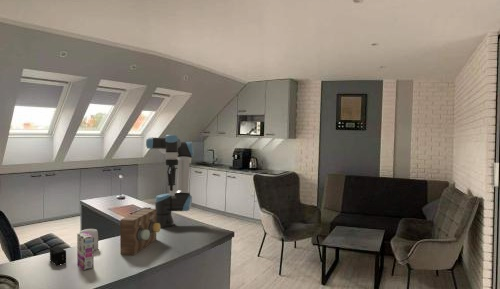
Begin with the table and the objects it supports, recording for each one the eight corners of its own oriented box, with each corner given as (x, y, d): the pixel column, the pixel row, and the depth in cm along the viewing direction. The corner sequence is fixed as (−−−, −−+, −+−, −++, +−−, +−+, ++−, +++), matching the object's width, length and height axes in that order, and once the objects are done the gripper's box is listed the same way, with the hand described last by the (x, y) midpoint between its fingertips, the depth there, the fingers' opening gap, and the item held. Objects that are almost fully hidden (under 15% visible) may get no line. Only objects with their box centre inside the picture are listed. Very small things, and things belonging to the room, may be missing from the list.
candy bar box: (94, 267, 162) (94, 236, 162) (83, 270, 159) (83, 238, 158) (87, 261, 170) (86, 231, 170) (76, 264, 167) (76, 233, 166)
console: (145, 238, 208) (144, 208, 208) (158, 239, 206) (158, 209, 206) (120, 254, 181) (120, 219, 180) (135, 255, 179) (135, 220, 178)
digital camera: (47, 261, 170) (47, 248, 170) (58, 258, 174) (58, 246, 174) (54, 266, 164) (54, 253, 163) (66, 263, 168) (66, 250, 168)
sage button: (145, 237, 188) (145, 228, 188) (149, 237, 188) (149, 228, 188) (140, 240, 183) (140, 231, 183) (145, 241, 182) (145, 231, 182)
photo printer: (78, 251, 184) (78, 230, 184) (80, 249, 189) (80, 228, 188) (97, 250, 187) (97, 229, 186) (99, 247, 191) (98, 227, 191)
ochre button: (156, 230, 202) (156, 221, 202) (160, 230, 202) (160, 222, 201) (151, 233, 197) (151, 224, 196) (156, 233, 196) (156, 224, 196)
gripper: (175, 159, 196) (175, 197, 197) (179, 158, 209) (179, 193, 210) (163, 159, 196) (163, 197, 197) (168, 158, 209) (168, 193, 210)
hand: (171, 195), depth 204 cm, fingers closed
